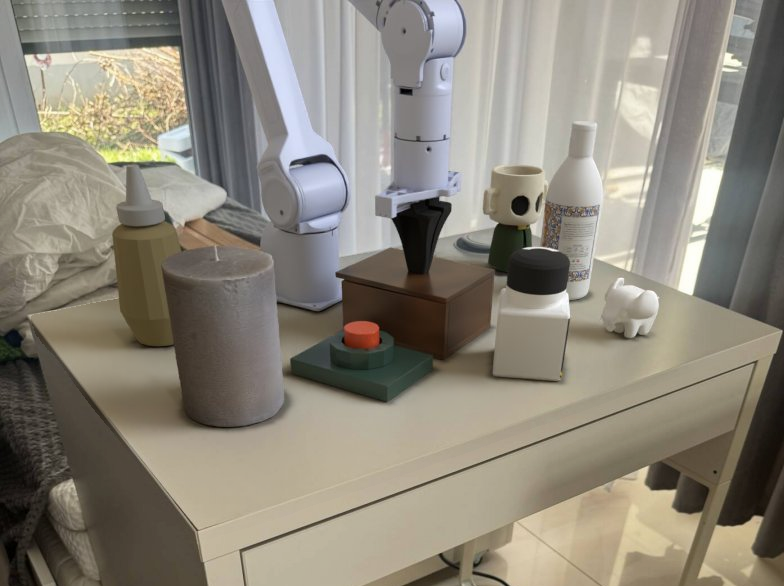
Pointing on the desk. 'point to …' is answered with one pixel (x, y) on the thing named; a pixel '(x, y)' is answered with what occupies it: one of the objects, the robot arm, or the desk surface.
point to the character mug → (513, 209)
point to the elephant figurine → (629, 309)
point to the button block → (363, 366)
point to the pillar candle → (225, 333)
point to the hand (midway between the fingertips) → (418, 271)
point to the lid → (416, 276)
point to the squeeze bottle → (143, 261)
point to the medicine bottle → (533, 316)
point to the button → (361, 334)
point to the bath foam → (575, 208)
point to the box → (421, 316)
